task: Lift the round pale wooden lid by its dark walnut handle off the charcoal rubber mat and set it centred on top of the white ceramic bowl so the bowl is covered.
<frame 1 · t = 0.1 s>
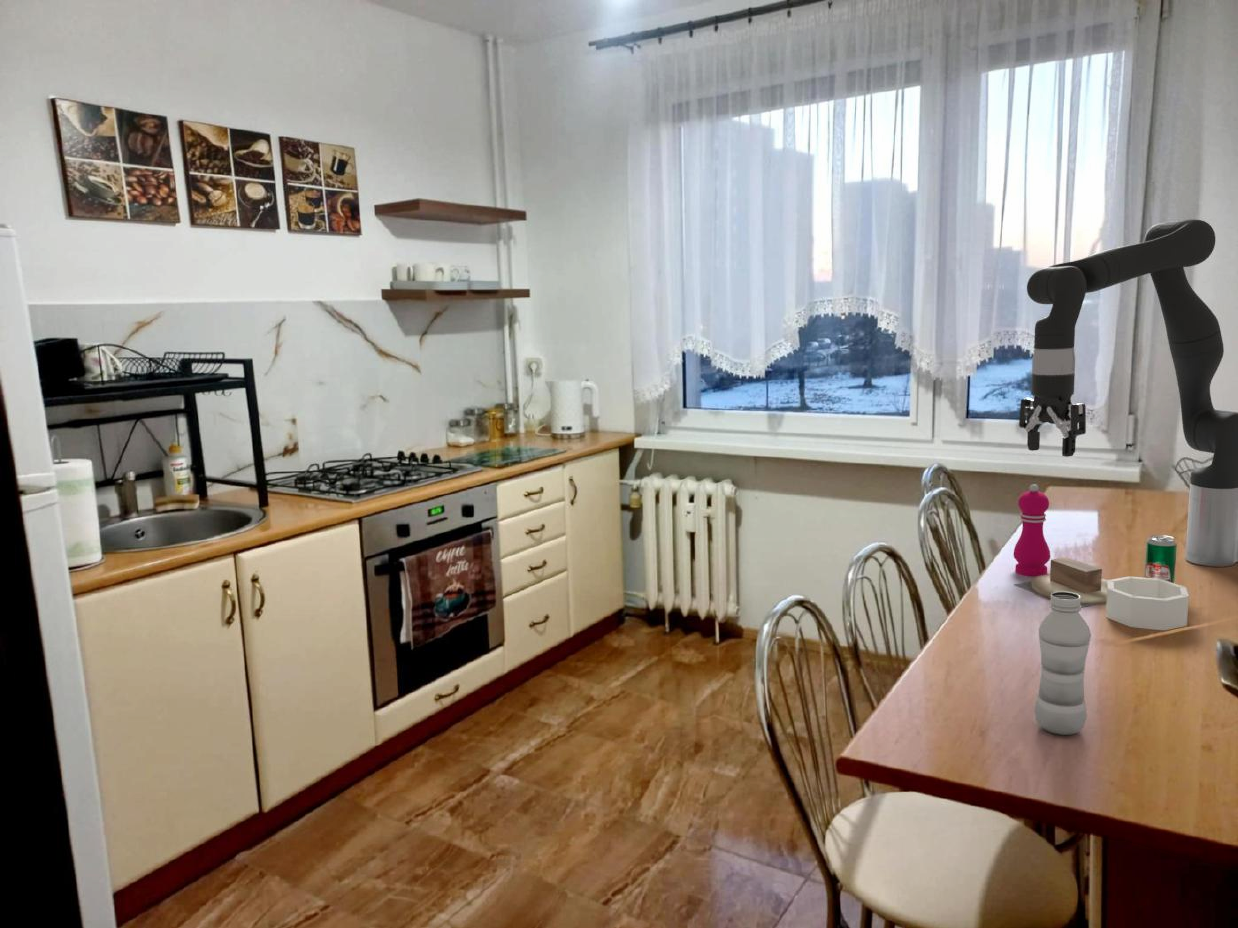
hand: (1050, 453, 174), 29 cm above the table, tool pointing down, fingers open, 8 cm apart
pepper mill: (1031, 574, 190), on the table
plastic bottle: (1059, 730, 125), on the table
lid: (1074, 590, 178), resting on mat
mat: (1074, 592, 178), on the table
bowl: (1144, 618, 162), on the table
soda can: (1158, 597, 173), on the table
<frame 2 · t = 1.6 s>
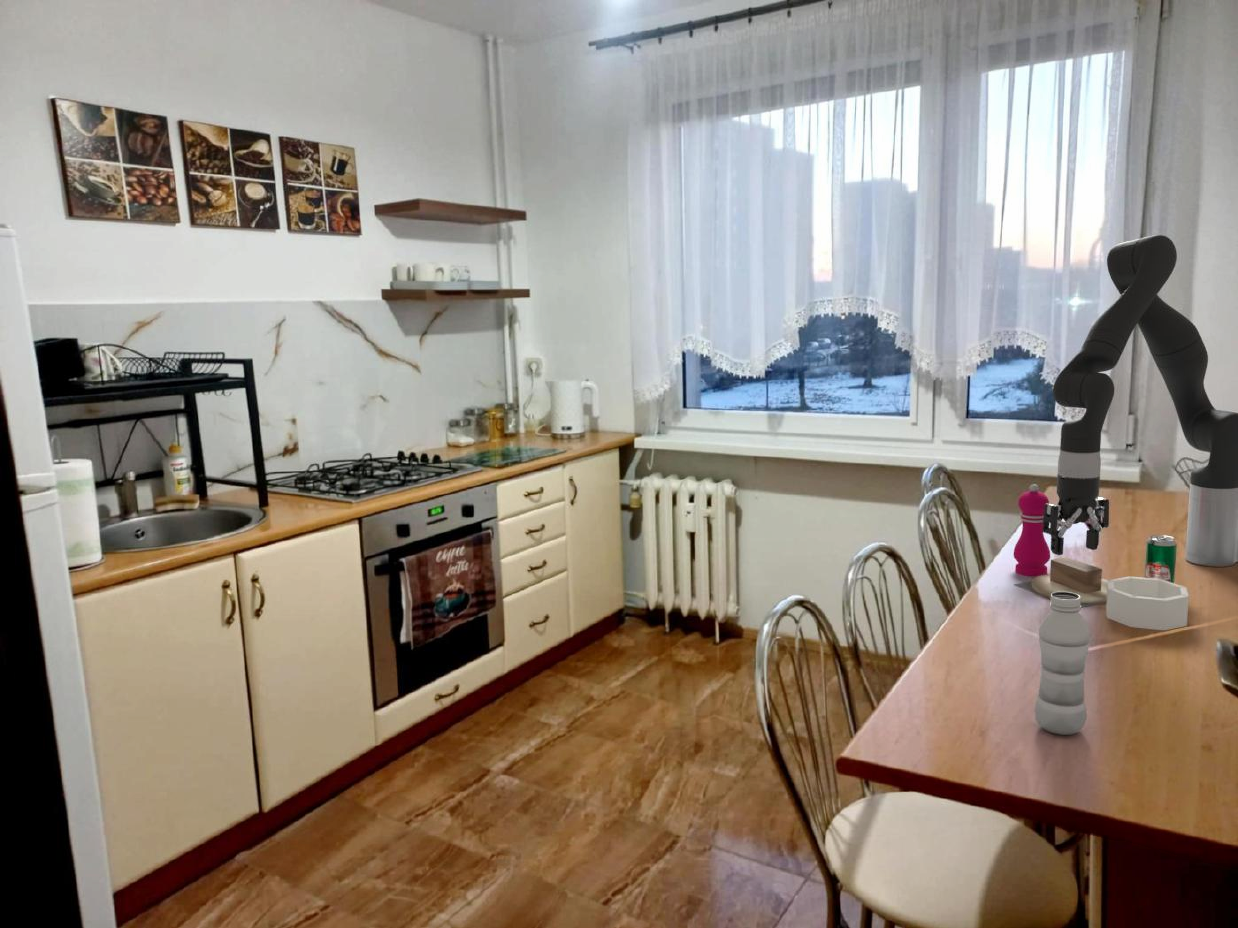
hand: (1074, 551, 176), 9 cm above the table, tool pointing down, fingers open, 8 cm apart
nothing on the table moved.
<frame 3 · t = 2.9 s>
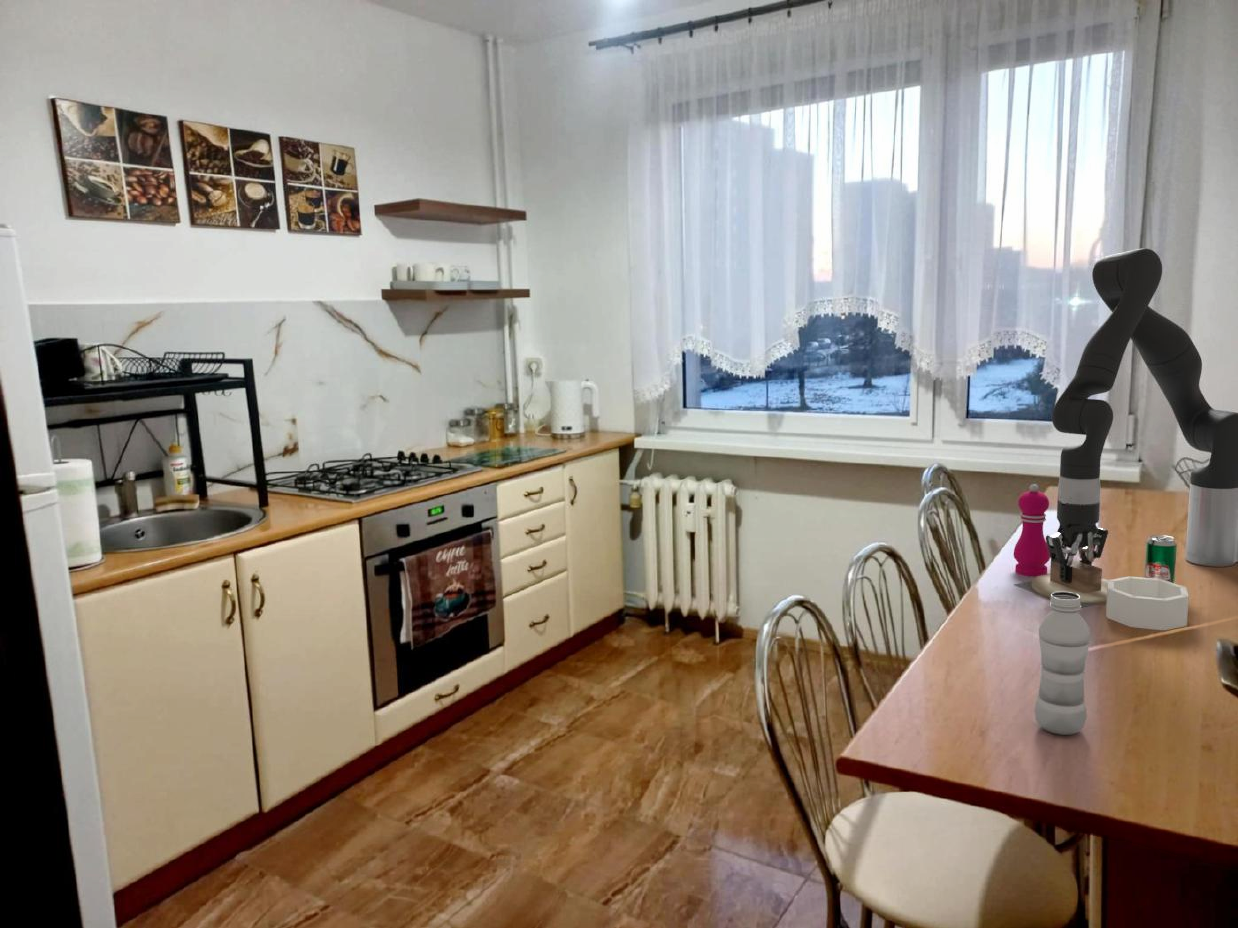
hand: (1075, 580, 177), 3 cm above the table, tool pointing down, fingers closed on lid, 4 cm apart
lid: (1074, 589, 178), resting on mat, touching gripper
everything else where it was.
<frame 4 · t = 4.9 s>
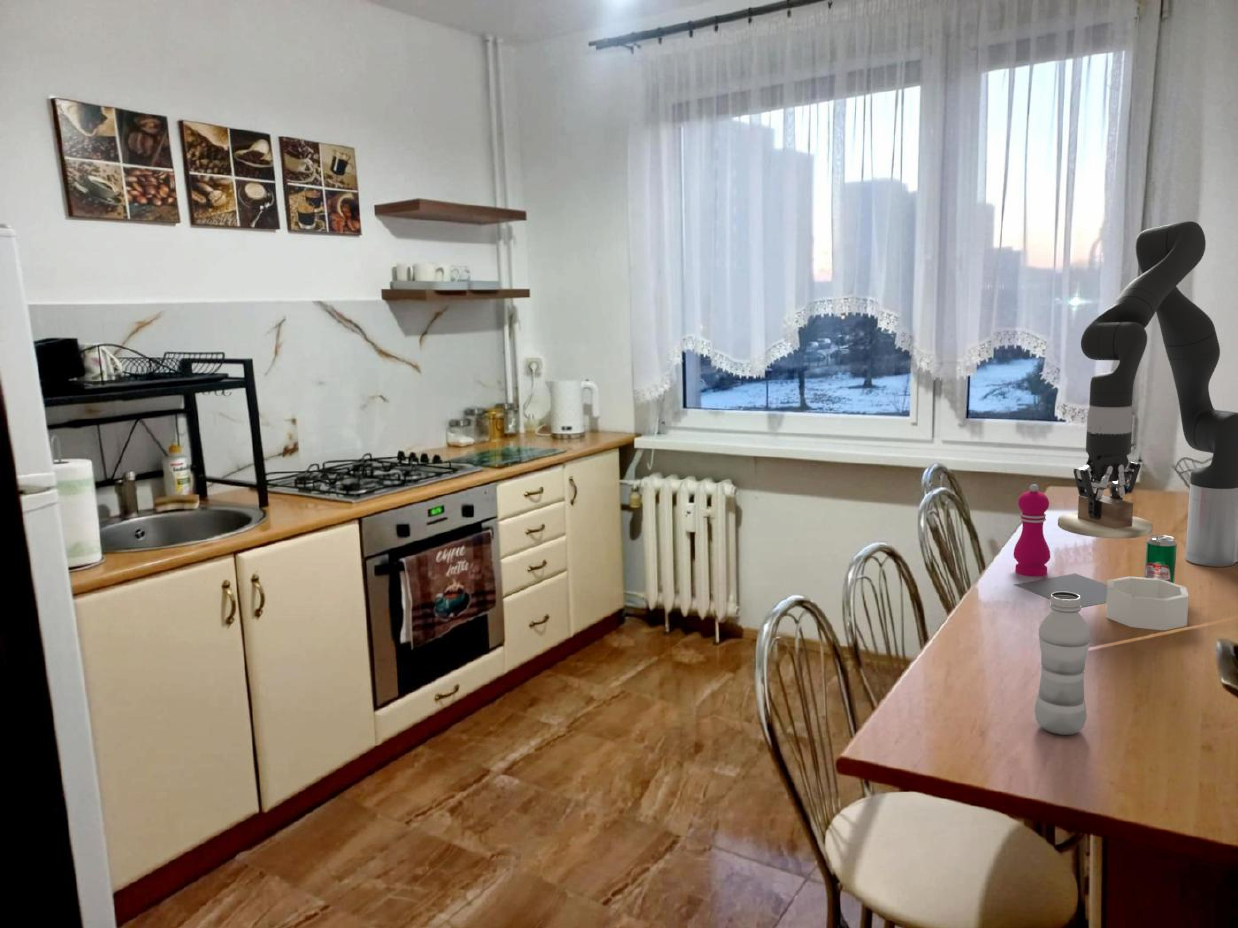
hand: (1104, 516, 168), 17 cm above the table, tool pointing down, fingers closed on lid, 4 cm apart
lid: (1104, 527, 169), point 15 cm above the table, touching gripper
everything else where it was.
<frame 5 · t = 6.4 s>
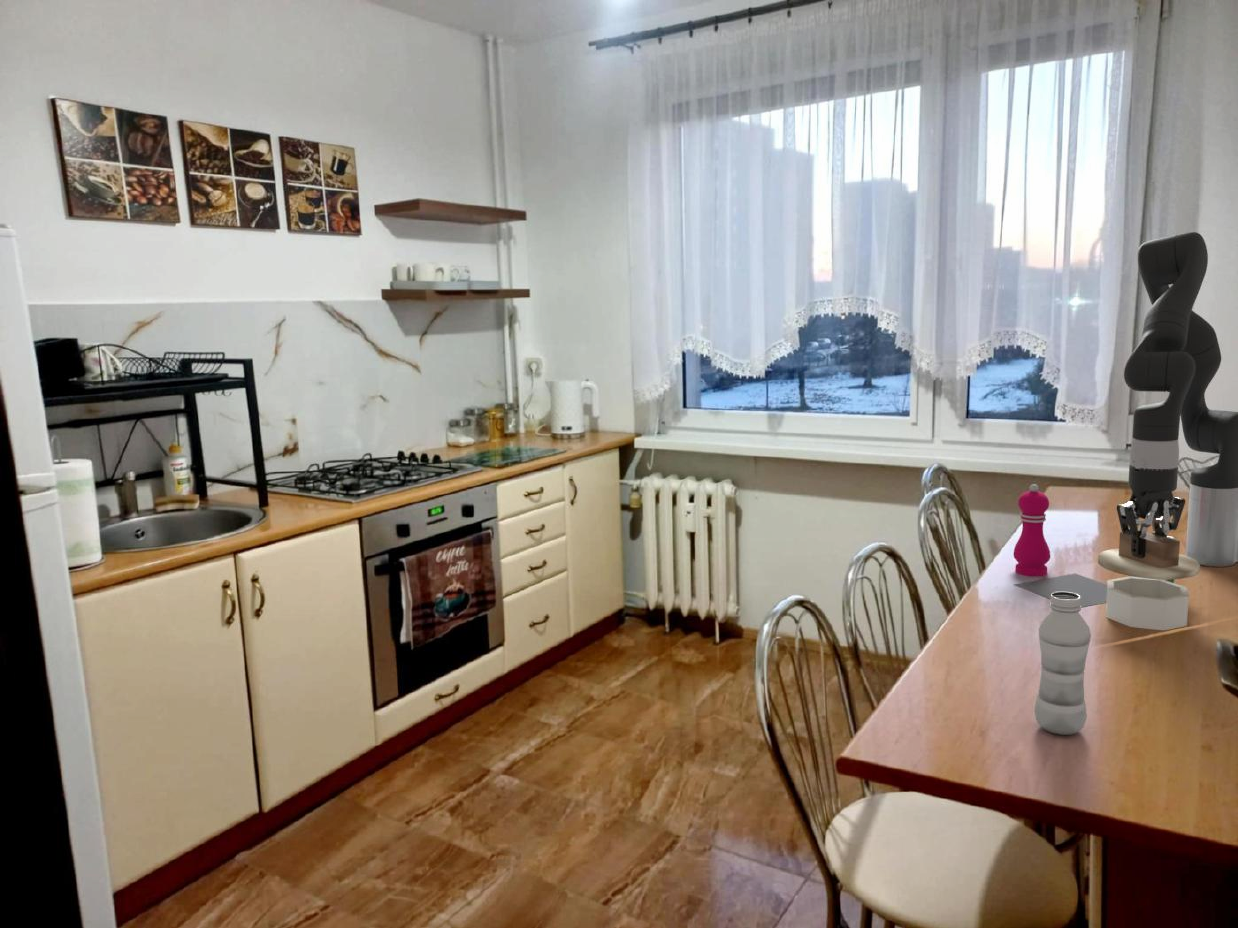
hand: (1148, 554, 160), 12 cm above the table, tool pointing down, fingers closed on lid, 4 cm apart
lid: (1147, 565, 161), point 10 cm above the table, touching gripper
everything else where it was.
when the fingers open (10 cm above the table, at t = 7.2 s): lid drops 2 cm, resting on bowl.
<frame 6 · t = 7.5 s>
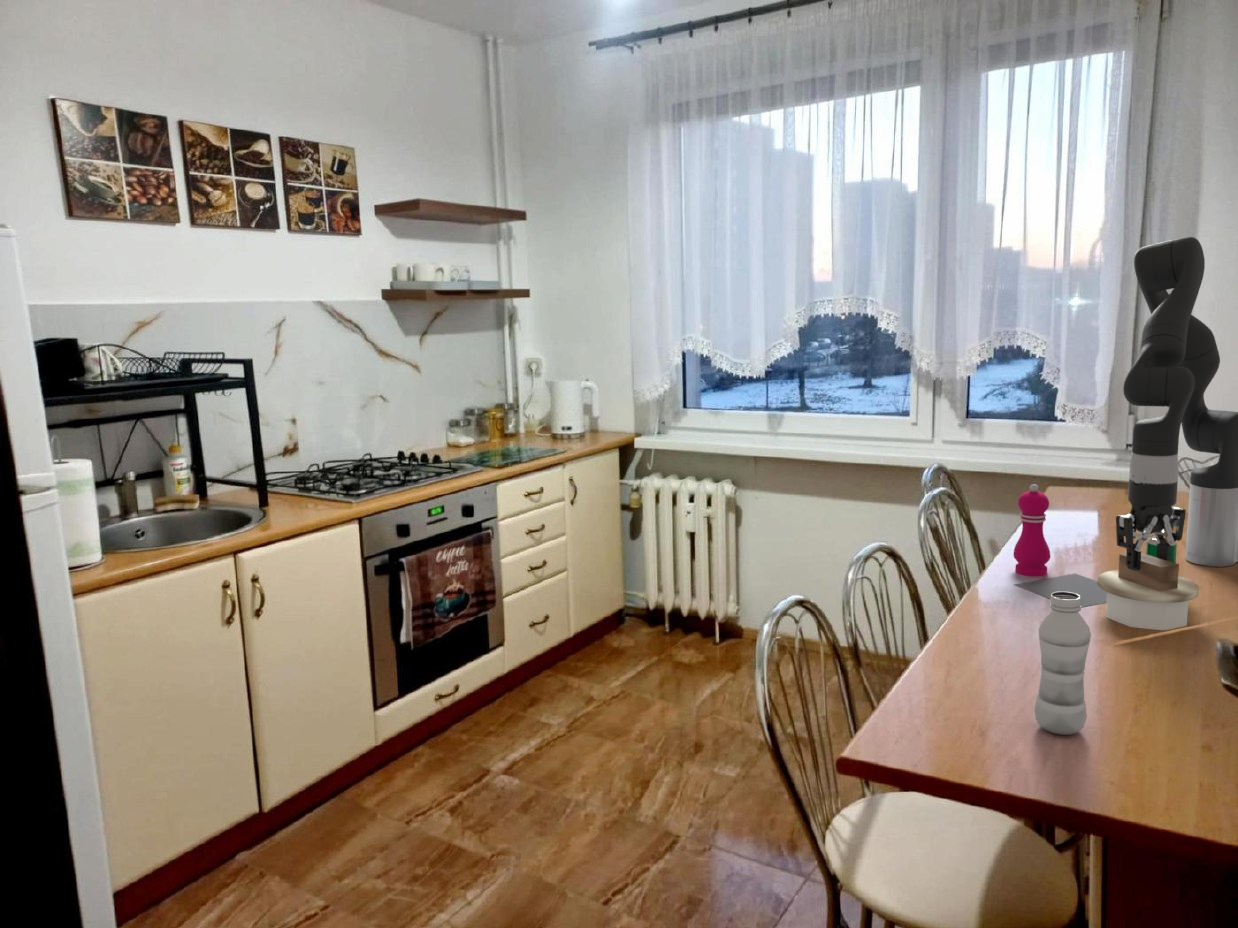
hand: (1148, 566, 160), 10 cm above the table, tool pointing down, fingers open, 6 cm apart
lid: (1146, 587, 161), point 6 cm above the table, touching bowl
everything else where it was.
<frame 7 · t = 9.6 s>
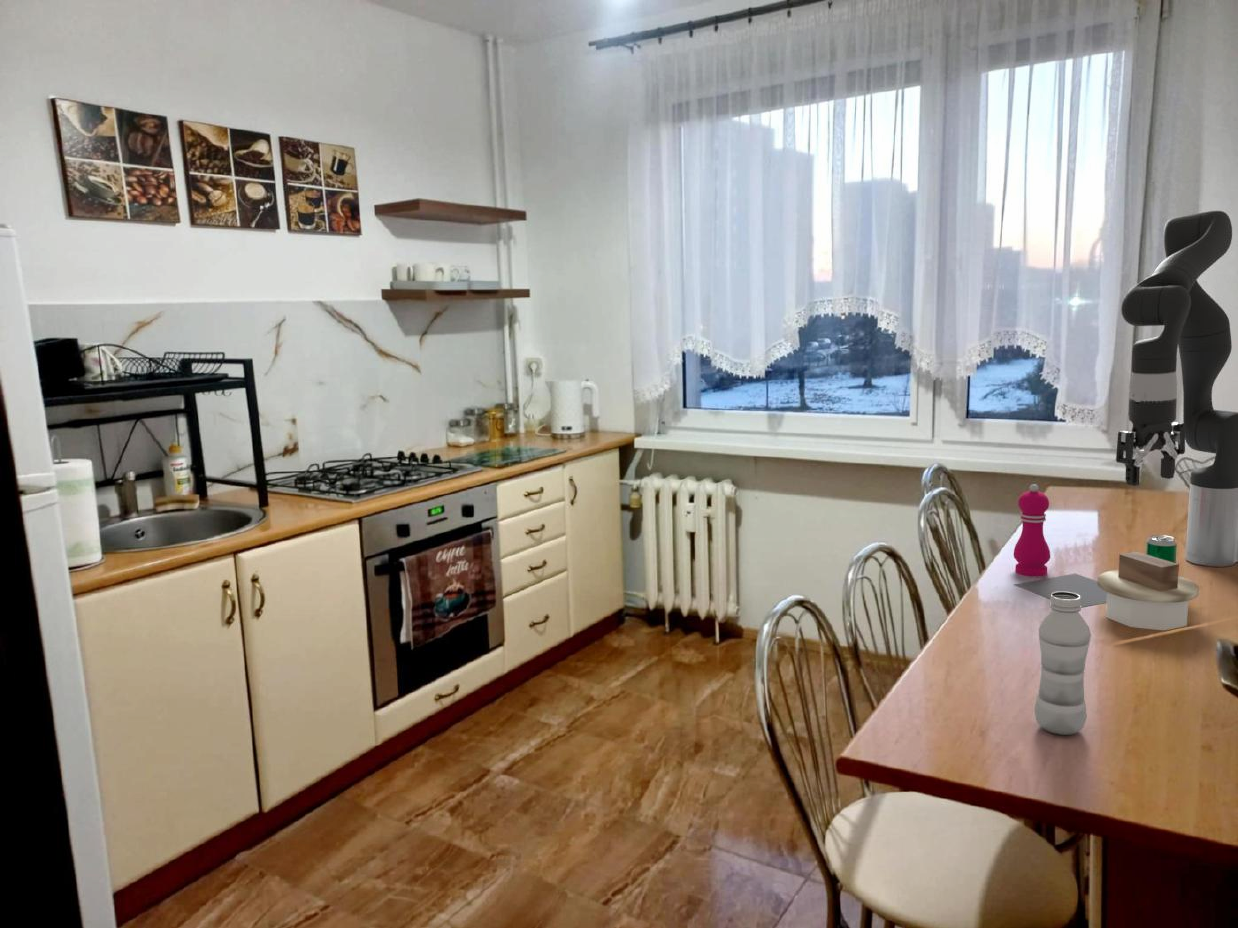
hand: (1149, 481, 165), 24 cm above the table, tool pointing down, fingers open, 8 cm apart
nothing on the table moved.
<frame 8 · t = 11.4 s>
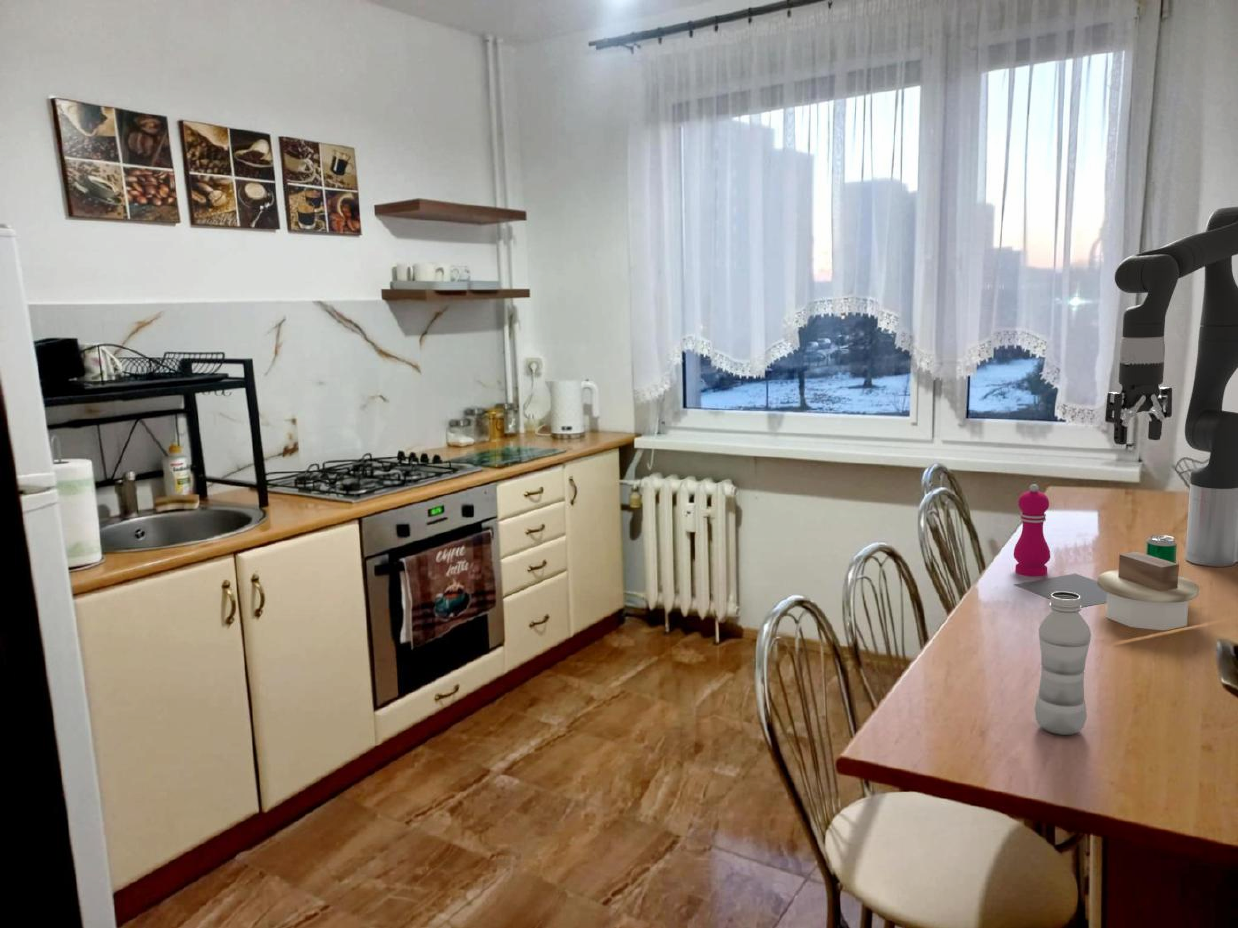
hand: (1137, 441, 174), 30 cm above the table, tool pointing down, fingers open, 8 cm apart
nothing on the table moved.
at the end: lid 0.1 cm from the bowl (horizontally); lid point 6.0 cm above the table; lid tilted 0° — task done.
